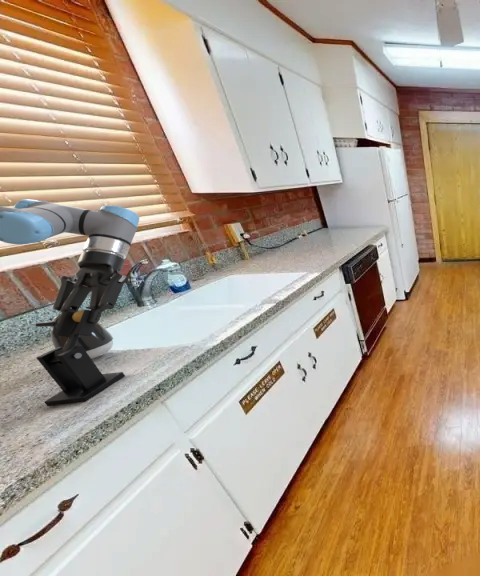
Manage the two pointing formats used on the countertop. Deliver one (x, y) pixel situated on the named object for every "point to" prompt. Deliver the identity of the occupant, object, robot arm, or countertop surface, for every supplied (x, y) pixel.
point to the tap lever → (71, 339)
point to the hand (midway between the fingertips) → (72, 335)
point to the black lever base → (76, 376)
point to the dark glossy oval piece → (83, 338)
